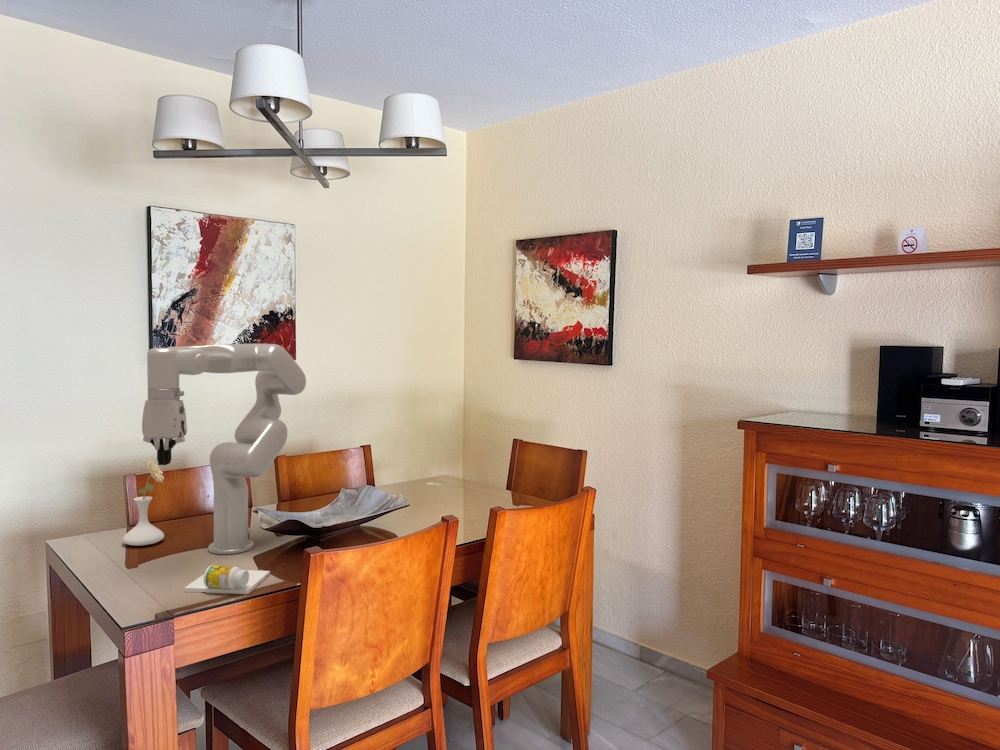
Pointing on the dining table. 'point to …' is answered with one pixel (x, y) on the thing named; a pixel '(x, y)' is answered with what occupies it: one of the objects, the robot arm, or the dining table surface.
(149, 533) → the flower in vase
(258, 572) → the mat
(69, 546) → the dining table surface
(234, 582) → the supplement bottle
